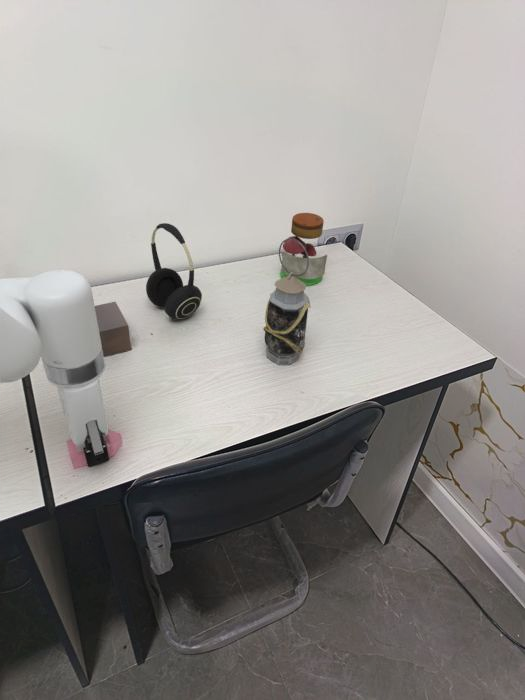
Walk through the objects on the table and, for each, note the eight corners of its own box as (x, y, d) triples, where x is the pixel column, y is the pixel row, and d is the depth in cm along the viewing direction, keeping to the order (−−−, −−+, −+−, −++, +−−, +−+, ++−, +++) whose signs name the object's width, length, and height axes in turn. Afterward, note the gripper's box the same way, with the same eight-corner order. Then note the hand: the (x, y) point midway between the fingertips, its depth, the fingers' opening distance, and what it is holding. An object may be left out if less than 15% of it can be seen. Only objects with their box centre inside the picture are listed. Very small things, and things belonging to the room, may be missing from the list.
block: (84, 362, 93) (79, 336, 90) (74, 335, 99) (69, 311, 96) (131, 350, 97) (128, 325, 93) (118, 325, 103) (115, 301, 99)
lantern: (311, 356, 99) (330, 241, 83) (285, 374, 94) (299, 256, 79) (279, 337, 103) (291, 224, 88) (252, 353, 98) (259, 237, 83)
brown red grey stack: (270, 264, 128) (274, 209, 118) (317, 263, 130) (325, 208, 121) (279, 288, 119) (285, 230, 109) (329, 286, 121) (339, 229, 112)
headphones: (172, 290, 115) (167, 208, 103) (211, 320, 107) (210, 234, 94) (140, 302, 110) (130, 217, 98) (177, 334, 102) (172, 245, 90)
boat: (74, 469, 74) (68, 448, 71) (69, 451, 77) (63, 430, 74) (125, 451, 77) (122, 430, 74) (119, 435, 80) (115, 414, 77)
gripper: (33, 333, 69) (59, 423, 81) (56, 410, 58) (82, 502, 70) (88, 321, 73) (105, 410, 84) (119, 392, 61) (134, 483, 73)
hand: (94, 451), depth 77 cm, fingers closed on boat, 3 cm apart
